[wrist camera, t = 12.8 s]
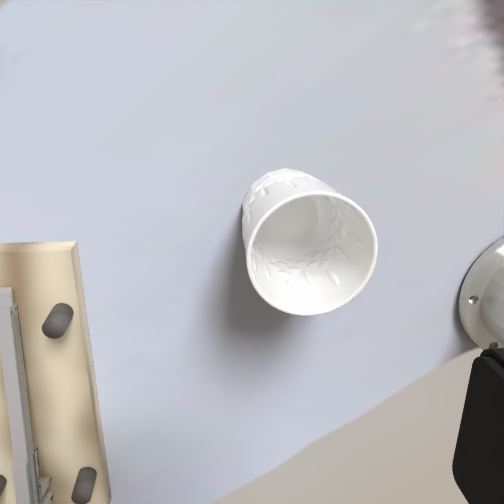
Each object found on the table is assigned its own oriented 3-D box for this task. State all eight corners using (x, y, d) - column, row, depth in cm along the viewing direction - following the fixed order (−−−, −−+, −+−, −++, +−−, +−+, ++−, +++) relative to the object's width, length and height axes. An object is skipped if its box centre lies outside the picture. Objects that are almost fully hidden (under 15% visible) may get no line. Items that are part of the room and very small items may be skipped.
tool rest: (76, 241, 36) (61, 263, 32) (111, 496, 46) (102, 539, 41) (-63, 245, 35) (-97, 268, 31) (2, 505, 44) (-19, 550, 40)
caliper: (55, 493, 42) (33, 561, 36) (42, 494, 42) (18, 562, 36) (13, 284, 35) (-23, 327, 29) (-2, 285, 35) (-42, 328, 29)
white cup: (353, 200, 38) (404, 243, 28) (290, 274, 39) (319, 338, 30) (277, 138, 35) (306, 163, 26) (213, 220, 37) (219, 271, 28)
